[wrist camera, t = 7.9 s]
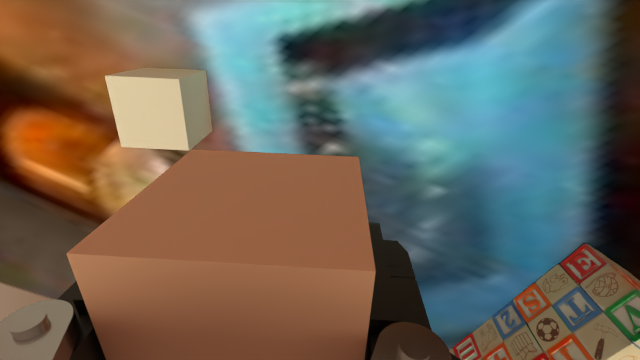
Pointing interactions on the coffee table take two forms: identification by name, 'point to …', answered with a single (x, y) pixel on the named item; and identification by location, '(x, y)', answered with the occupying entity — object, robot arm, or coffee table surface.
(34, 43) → the coffee table surface
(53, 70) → the coffee table surface
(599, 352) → the stack of blocks
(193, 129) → the cream cube
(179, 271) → the terracotta cube
